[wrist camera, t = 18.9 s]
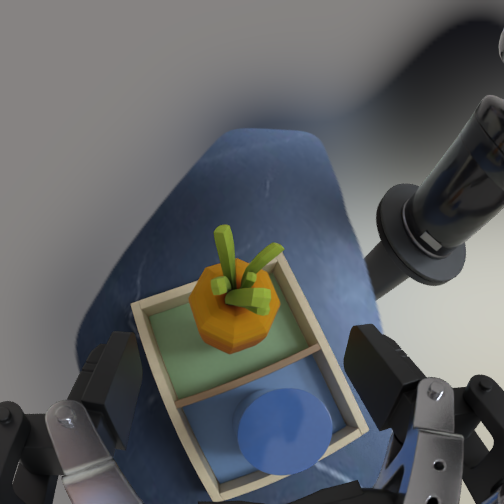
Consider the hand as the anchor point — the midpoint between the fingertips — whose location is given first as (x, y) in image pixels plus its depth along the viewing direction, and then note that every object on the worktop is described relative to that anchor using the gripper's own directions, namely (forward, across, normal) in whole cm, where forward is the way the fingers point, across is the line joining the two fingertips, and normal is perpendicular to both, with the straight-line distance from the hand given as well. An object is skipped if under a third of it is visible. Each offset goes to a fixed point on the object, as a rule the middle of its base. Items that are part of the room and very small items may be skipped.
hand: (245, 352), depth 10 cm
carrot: (+13, 0, +8) cm, 15 cm away
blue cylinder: (+7, -3, +13) cm, 15 cm away
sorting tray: (+10, -1, +11) cm, 15 cm away
